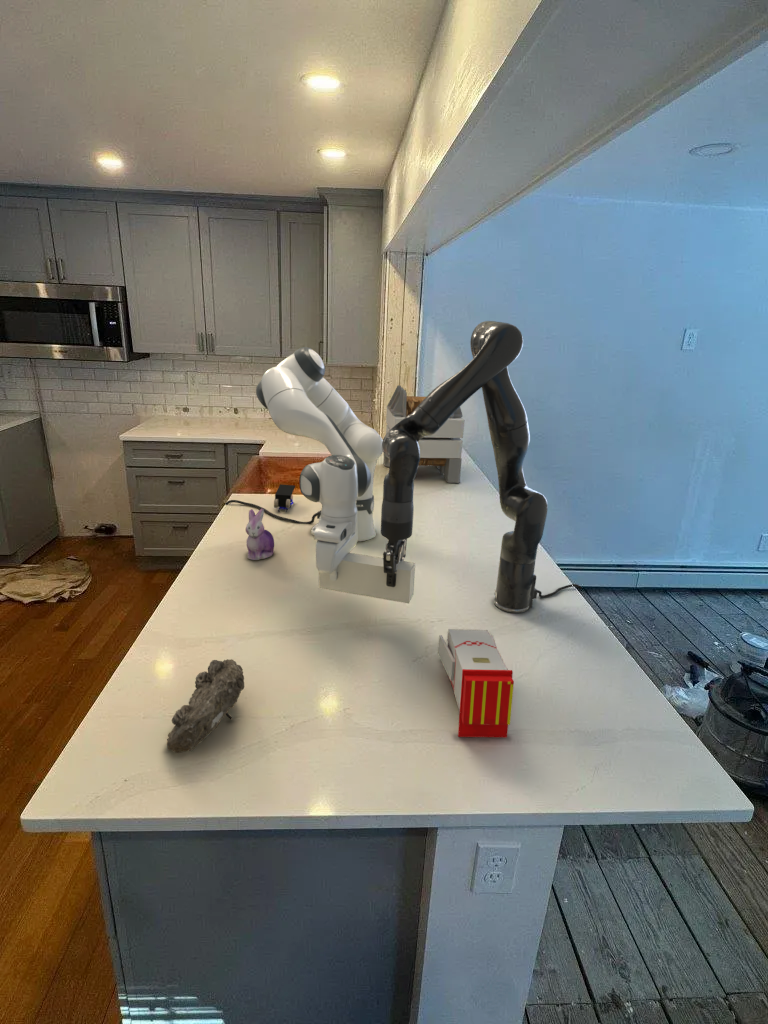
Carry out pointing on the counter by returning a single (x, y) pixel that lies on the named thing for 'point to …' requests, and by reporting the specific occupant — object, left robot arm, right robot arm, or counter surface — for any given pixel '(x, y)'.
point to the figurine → (258, 537)
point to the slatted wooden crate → (431, 436)
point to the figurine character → (284, 497)
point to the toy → (478, 682)
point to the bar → (371, 578)
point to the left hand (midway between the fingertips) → (338, 574)
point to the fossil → (206, 705)
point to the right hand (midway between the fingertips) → (394, 580)
